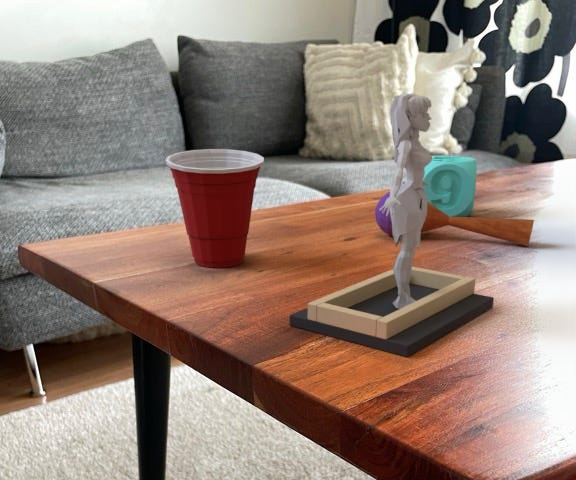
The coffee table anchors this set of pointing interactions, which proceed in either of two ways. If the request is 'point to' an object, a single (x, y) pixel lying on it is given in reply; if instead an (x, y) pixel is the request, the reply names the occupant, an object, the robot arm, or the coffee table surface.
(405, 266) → the human figurine
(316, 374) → the coffee table surface
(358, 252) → the coffee table surface
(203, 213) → the plastic cup
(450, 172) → the decorative dice
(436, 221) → the kendama
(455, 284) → the stand pad
